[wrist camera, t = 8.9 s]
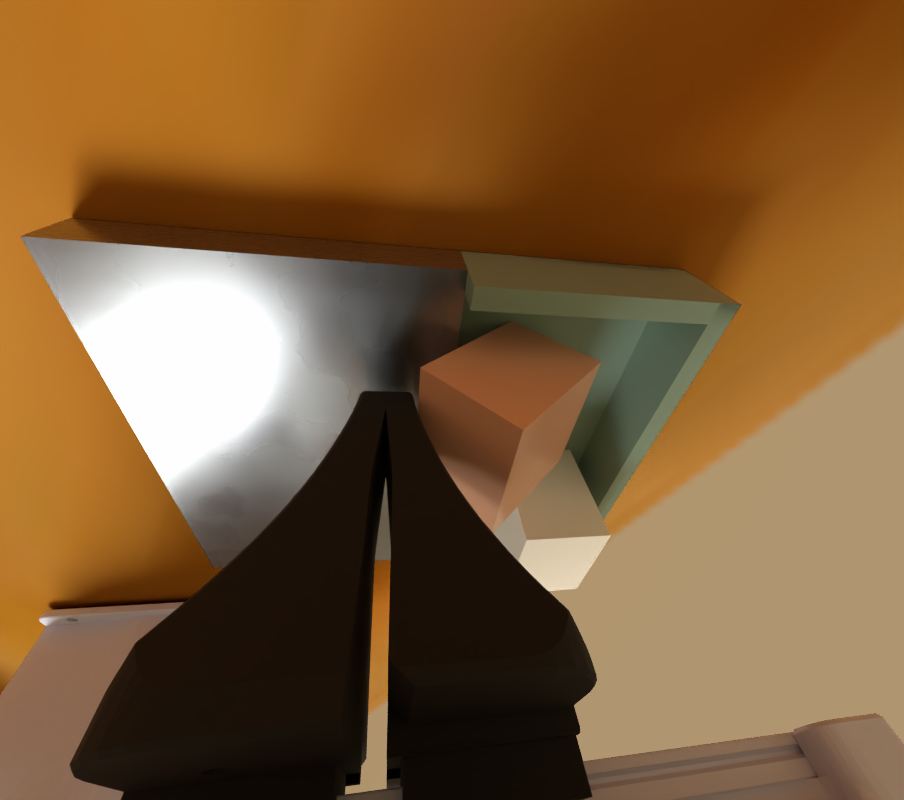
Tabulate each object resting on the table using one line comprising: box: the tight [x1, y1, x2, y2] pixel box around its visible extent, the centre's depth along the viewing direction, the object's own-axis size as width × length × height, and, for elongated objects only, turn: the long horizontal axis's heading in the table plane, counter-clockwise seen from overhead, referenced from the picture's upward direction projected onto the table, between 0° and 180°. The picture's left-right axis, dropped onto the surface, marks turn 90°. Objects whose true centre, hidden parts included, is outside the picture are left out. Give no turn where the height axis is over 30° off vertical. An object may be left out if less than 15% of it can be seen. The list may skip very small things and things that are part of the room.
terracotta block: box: [418, 321, 601, 533], centre depth 11 cm, size 4×4×3 cm
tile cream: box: [494, 450, 611, 591], centre depth 15 cm, size 4×4×3 cm
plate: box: [21, 218, 468, 568], centre depth 13 cm, size 10×14×2 cm
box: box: [457, 251, 741, 520], centre depth 14 cm, size 7×14×2 cm, turn 174°
